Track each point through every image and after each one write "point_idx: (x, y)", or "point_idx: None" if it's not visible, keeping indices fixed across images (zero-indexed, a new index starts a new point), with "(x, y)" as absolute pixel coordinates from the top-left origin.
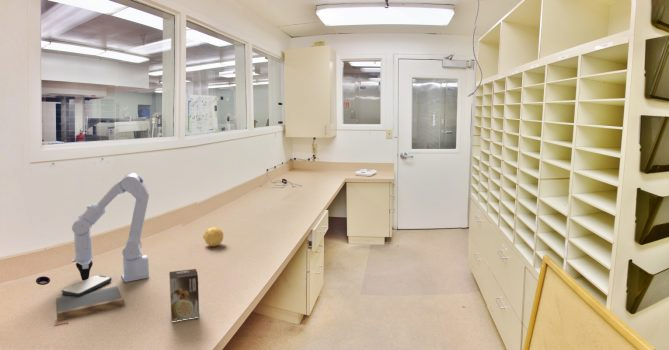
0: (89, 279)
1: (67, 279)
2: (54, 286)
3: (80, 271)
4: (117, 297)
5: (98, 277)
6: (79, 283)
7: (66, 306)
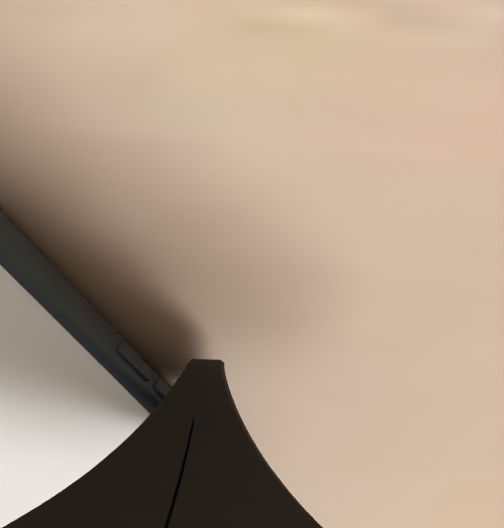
0: (120, 438)
1: (426, 197)
2: (256, 3)
3: (105, 470)
4: None
5: None
6: (32, 329)
7: None
